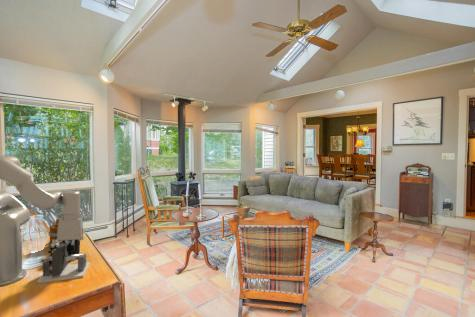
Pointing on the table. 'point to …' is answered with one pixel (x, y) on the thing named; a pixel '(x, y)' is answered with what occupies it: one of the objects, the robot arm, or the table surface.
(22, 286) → the table surface
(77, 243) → the pen holder
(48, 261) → the pipe
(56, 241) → the valve
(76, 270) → the base board
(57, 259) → the collar
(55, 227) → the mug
